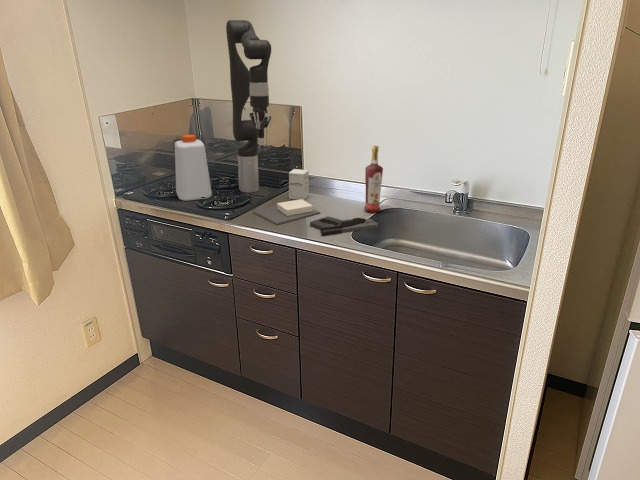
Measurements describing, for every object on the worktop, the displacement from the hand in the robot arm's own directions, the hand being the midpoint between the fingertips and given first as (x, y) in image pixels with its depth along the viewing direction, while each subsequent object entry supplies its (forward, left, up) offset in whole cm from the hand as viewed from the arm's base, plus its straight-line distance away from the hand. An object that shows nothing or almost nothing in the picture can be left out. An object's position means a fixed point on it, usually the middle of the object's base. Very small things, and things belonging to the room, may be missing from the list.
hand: (260, 137), depth 206 cm
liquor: (+30, +36, -31) cm, 56 cm away
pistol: (+36, +15, -32) cm, 50 cm away
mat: (+10, +5, -31) cm, 33 cm away
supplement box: (-4, +22, -31) cm, 38 cm away
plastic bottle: (-36, -15, -31) cm, 50 cm away
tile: (+10, +2, -29) cm, 31 cm away
